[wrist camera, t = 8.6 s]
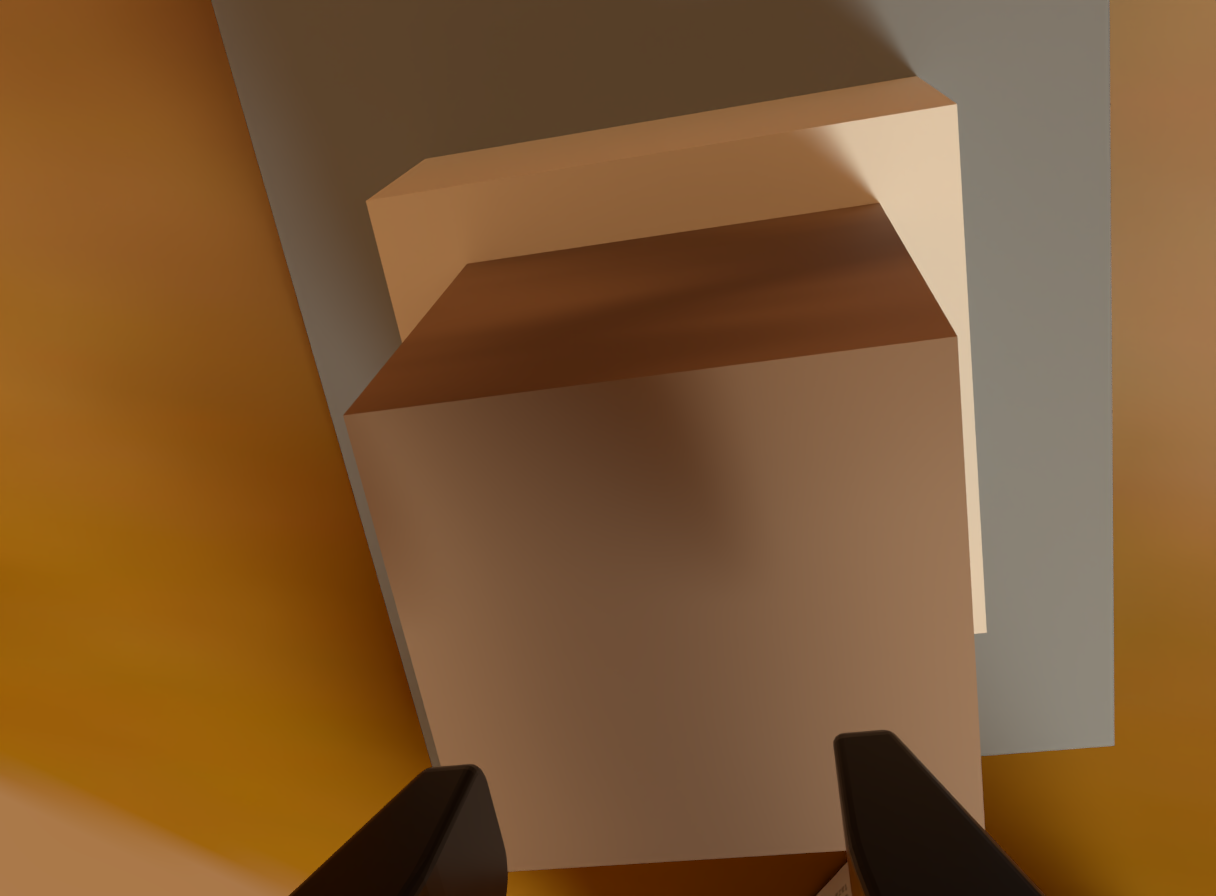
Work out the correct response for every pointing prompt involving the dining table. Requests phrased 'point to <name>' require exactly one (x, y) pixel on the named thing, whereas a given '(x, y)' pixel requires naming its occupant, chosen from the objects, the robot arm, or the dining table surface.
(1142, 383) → the dining table surface
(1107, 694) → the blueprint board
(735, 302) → the walnut block
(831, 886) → the coffee box
